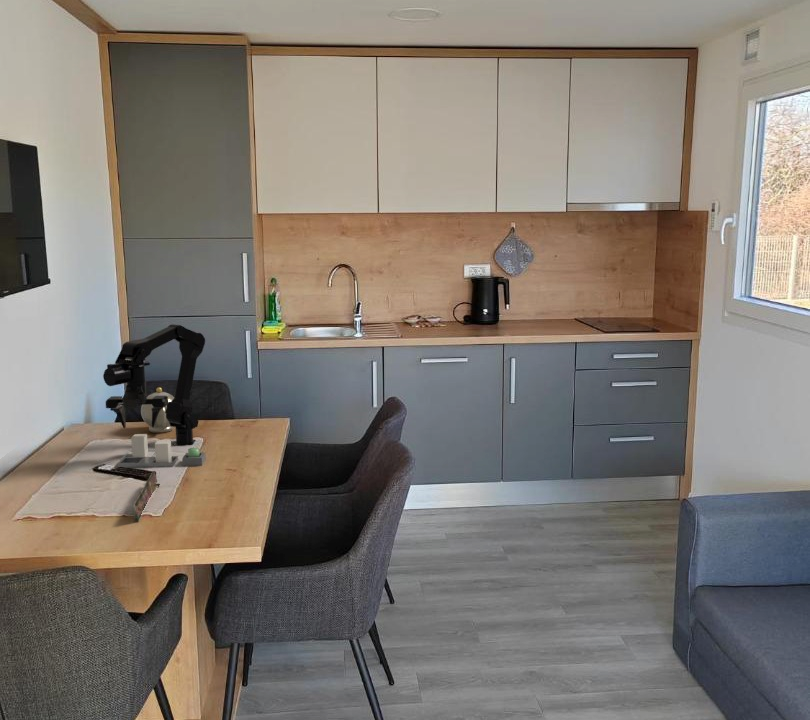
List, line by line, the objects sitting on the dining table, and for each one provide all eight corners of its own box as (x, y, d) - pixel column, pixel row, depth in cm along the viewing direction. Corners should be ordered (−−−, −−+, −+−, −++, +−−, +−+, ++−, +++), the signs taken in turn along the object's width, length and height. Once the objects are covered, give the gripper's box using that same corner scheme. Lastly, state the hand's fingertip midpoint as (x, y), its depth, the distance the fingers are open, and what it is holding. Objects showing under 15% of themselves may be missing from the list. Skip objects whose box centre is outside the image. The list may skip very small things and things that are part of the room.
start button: (189, 457, 255) (189, 447, 254) (200, 457, 255) (200, 447, 254) (187, 460, 252) (187, 450, 251) (198, 460, 252) (198, 450, 251)
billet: (135, 454, 264) (134, 434, 263) (148, 454, 264) (147, 434, 263) (132, 458, 260) (131, 437, 259) (145, 458, 260) (143, 437, 259)
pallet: (124, 463, 256) (123, 456, 256) (178, 462, 257) (178, 455, 257) (116, 471, 248) (116, 464, 248) (172, 470, 249) (172, 463, 249)
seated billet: (159, 461, 255) (157, 440, 254) (171, 461, 255) (170, 440, 254) (155, 465, 251) (154, 443, 250) (168, 465, 251) (167, 443, 250)
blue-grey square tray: (129, 453, 267) (129, 450, 267) (159, 453, 268) (159, 449, 267) (120, 462, 257) (120, 459, 257) (152, 462, 258) (151, 458, 258)
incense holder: (139, 523, 206) (138, 503, 205) (134, 523, 206) (133, 503, 205) (159, 485, 236) (158, 468, 235) (155, 485, 236) (154, 468, 235)
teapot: (140, 427, 301) (137, 385, 298) (177, 424, 306) (175, 382, 304) (145, 439, 285) (142, 394, 282) (184, 435, 290) (182, 391, 287)
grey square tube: (186, 463, 256) (186, 452, 256) (205, 462, 257) (205, 452, 256) (182, 469, 251) (182, 458, 250) (202, 468, 251) (201, 457, 250)
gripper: (98, 386, 250) (102, 434, 252) (159, 385, 251) (162, 433, 253) (109, 379, 261) (112, 425, 263) (167, 378, 262) (170, 424, 264)
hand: (138, 427), depth 261 cm, fingers open, 9 cm apart
